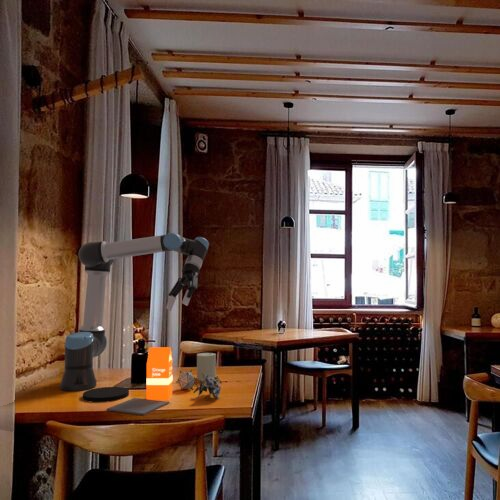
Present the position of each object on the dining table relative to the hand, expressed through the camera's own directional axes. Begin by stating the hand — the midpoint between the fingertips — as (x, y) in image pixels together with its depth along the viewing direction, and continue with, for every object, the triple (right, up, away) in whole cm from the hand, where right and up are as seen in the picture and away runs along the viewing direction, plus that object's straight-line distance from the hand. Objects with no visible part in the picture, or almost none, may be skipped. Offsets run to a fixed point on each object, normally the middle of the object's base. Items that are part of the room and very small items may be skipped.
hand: (176, 307), depth 197 cm
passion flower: (+16, -34, -20) cm, 42 cm away
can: (+12, -36, +15) cm, 41 cm away
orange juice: (-3, -34, -19) cm, 39 cm away
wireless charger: (-26, -35, -16) cm, 46 cm away
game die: (+5, -35, -6) cm, 36 cm away
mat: (-9, -33, -32) cm, 46 cm away
